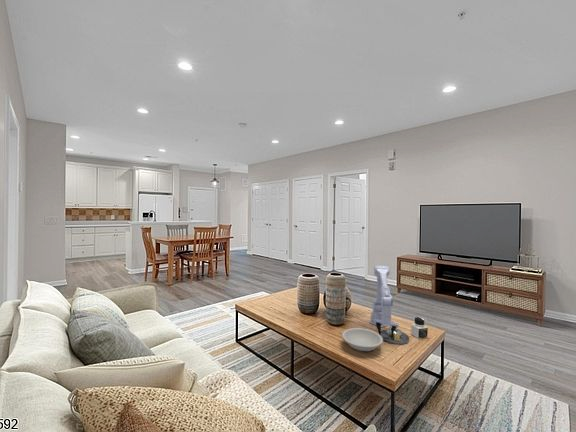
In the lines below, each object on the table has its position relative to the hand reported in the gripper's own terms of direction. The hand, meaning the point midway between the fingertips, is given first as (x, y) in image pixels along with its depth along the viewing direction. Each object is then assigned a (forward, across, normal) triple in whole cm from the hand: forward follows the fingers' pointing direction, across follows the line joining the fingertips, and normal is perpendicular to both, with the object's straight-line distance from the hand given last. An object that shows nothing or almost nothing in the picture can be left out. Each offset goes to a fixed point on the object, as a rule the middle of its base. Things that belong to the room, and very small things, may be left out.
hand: (385, 335), depth 177 cm
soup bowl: (+3, -11, -16) cm, 20 cm away
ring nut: (+1, +4, +7) cm, 8 cm away
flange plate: (+3, +4, +7) cm, 8 cm away
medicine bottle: (+3, +18, +18) cm, 25 cm away
